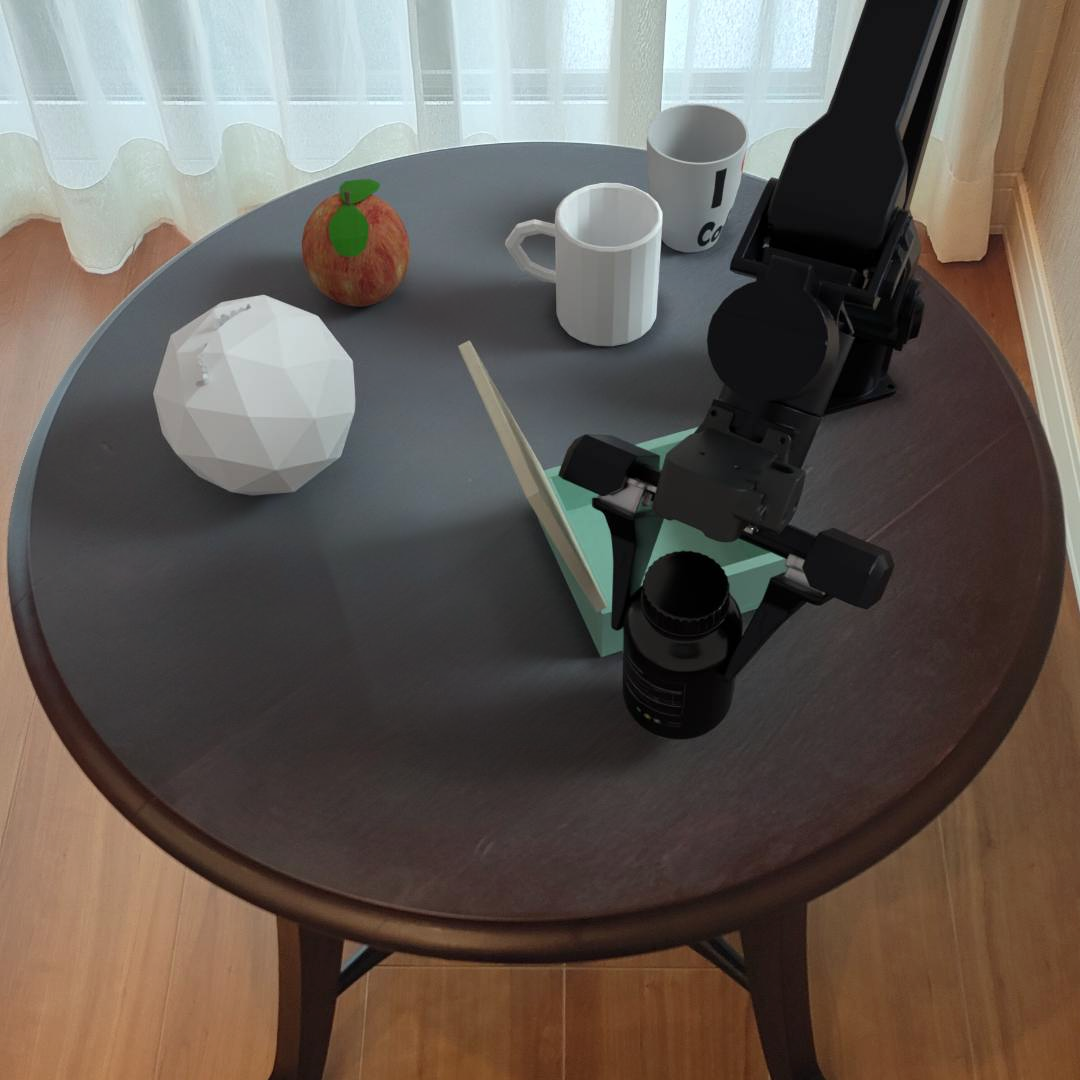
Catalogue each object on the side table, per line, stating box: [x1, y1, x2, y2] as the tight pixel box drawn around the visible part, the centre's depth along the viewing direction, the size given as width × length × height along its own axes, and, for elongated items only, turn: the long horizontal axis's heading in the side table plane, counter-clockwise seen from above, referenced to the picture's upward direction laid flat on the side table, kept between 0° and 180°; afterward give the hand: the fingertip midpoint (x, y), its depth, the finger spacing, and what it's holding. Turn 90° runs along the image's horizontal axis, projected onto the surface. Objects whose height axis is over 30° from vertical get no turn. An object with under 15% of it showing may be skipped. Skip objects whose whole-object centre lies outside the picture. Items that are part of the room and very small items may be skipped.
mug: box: [504, 182, 663, 347], centre depth 103 cm, size 8×12×10 cm
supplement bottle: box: [621, 551, 744, 741], centre depth 77 cm, size 7×7×12 cm
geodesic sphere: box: [152, 294, 356, 496], centre depth 92 cm, size 15×14×14 cm
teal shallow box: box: [537, 426, 788, 658], centre depth 89 cm, size 13×13×5 cm
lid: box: [458, 340, 607, 612], centre depth 80 cm, size 14×13×1 cm
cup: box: [645, 103, 750, 254], centre depth 109 cm, size 8×8×10 cm
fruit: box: [301, 178, 411, 307], centre depth 105 cm, size 9×10×10 cm
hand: (670, 654), depth 76 cm, fingers closed on supplement bottle, 7 cm apart
